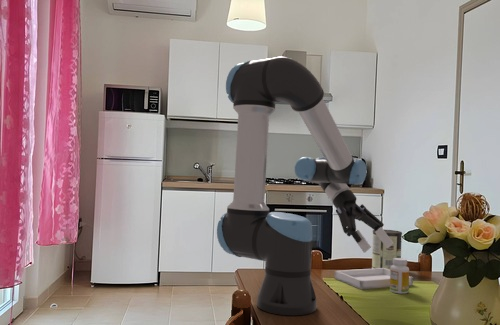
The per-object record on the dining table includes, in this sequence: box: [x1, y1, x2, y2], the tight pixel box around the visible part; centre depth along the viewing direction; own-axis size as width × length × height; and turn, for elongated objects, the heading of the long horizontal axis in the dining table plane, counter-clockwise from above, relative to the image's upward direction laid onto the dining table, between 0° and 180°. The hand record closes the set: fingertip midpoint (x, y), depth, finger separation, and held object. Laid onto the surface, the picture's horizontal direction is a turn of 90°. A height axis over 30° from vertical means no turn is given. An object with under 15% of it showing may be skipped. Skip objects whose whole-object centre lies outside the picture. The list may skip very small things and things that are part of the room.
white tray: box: [334, 268, 414, 290], centre depth 146 cm, size 20×14×2 cm
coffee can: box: [371, 229, 403, 270], centre depth 166 cm, size 10×10×14 cm
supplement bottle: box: [389, 257, 410, 295], centre depth 135 cm, size 5×5×10 cm
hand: (379, 247), depth 142 cm, fingers open, 13 cm apart
